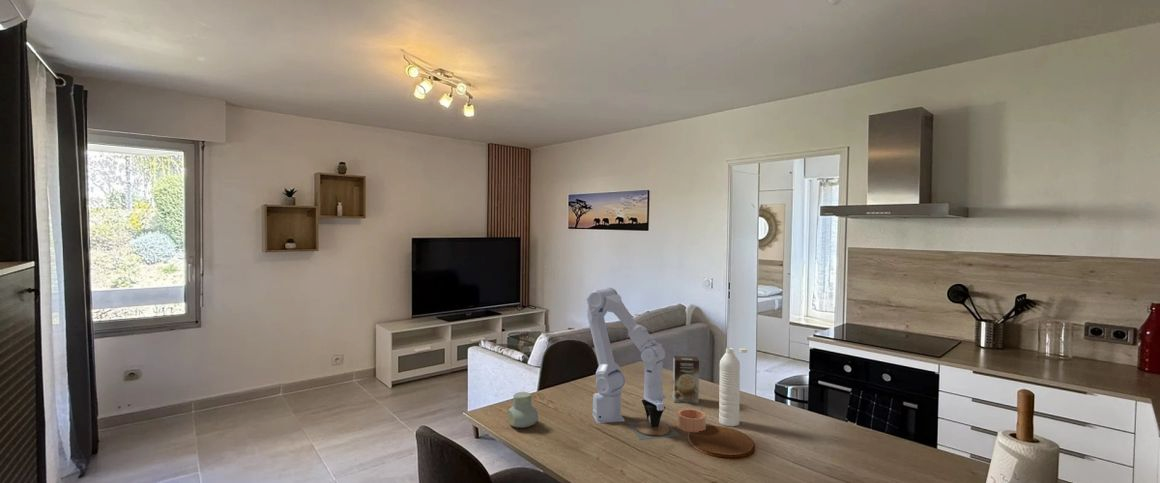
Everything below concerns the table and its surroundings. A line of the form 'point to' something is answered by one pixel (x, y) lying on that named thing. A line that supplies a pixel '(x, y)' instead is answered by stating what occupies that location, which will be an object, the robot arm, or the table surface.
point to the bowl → (691, 420)
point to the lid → (652, 428)
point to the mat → (641, 436)
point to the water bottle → (729, 388)
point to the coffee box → (685, 379)
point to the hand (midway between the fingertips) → (653, 424)
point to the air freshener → (522, 411)
